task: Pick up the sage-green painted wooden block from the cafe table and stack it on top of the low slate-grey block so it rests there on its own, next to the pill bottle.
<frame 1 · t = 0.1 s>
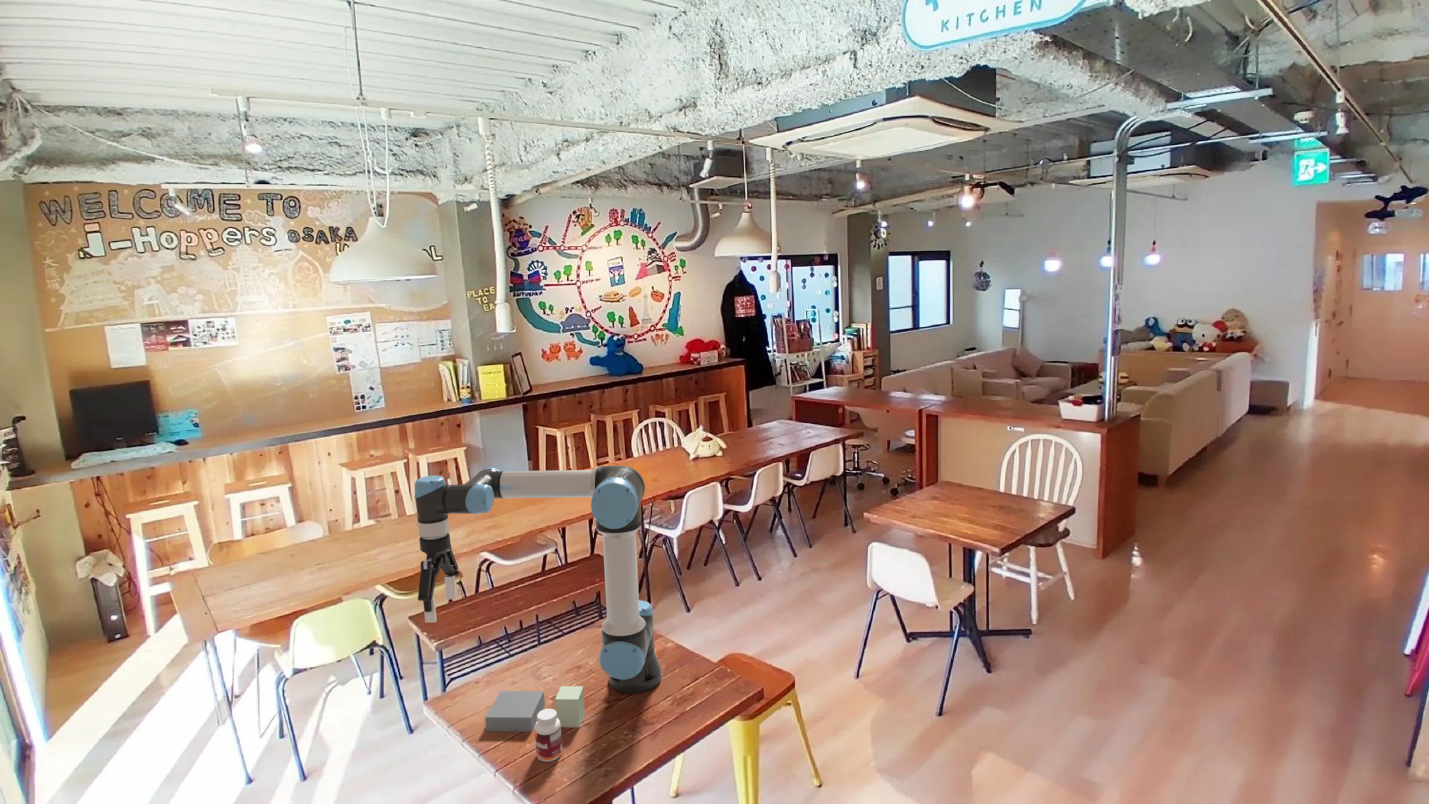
hand: (441, 609, 198), 28 cm above the table, fingers open, 13 cm apart
sage block: (571, 720, 195), on the table
pill bottle: (549, 755, 181), on the table
slate block: (516, 717, 196), on the table
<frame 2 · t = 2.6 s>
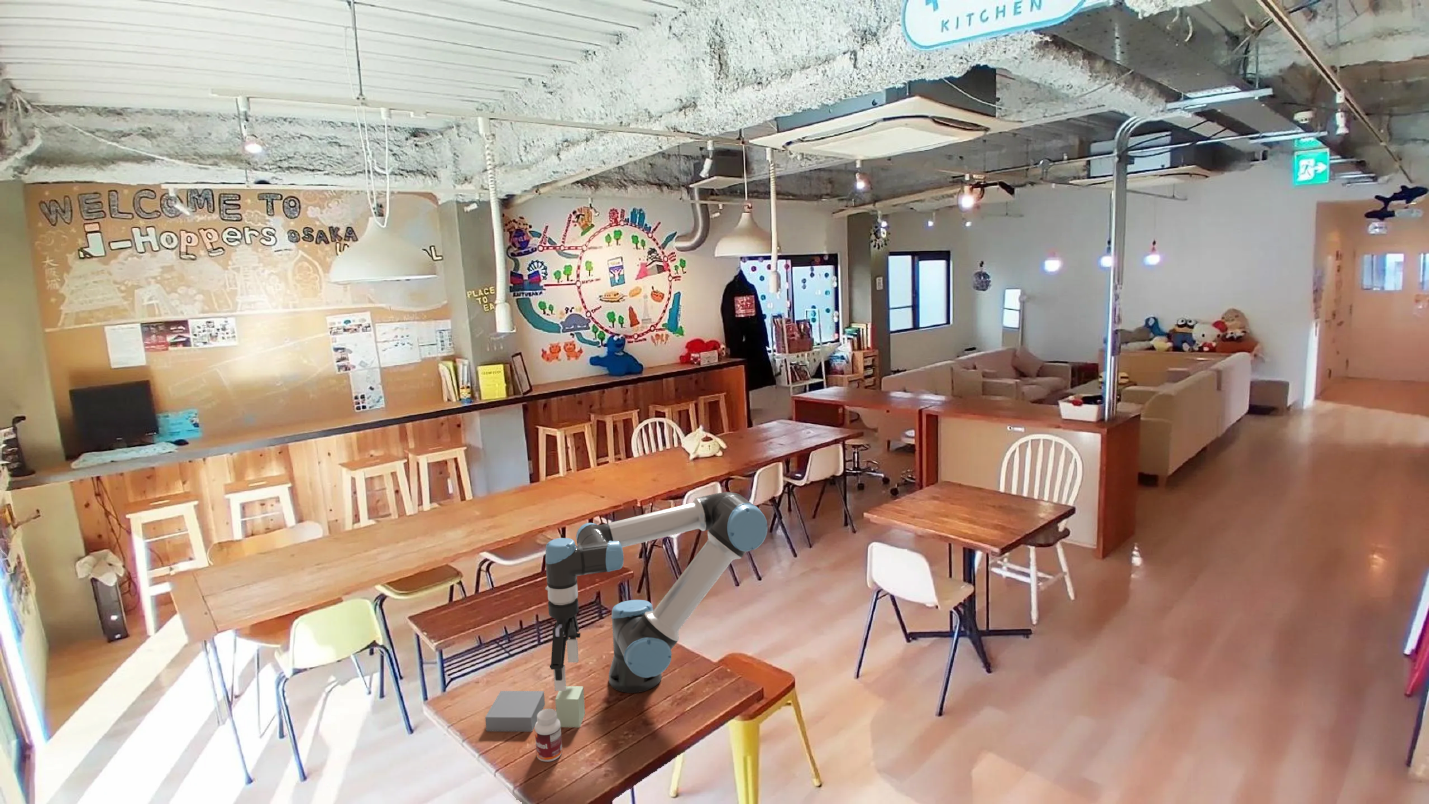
hand: (567, 675, 192), 13 cm above the table, fingers open, 13 cm apart
nothing on the table moved.
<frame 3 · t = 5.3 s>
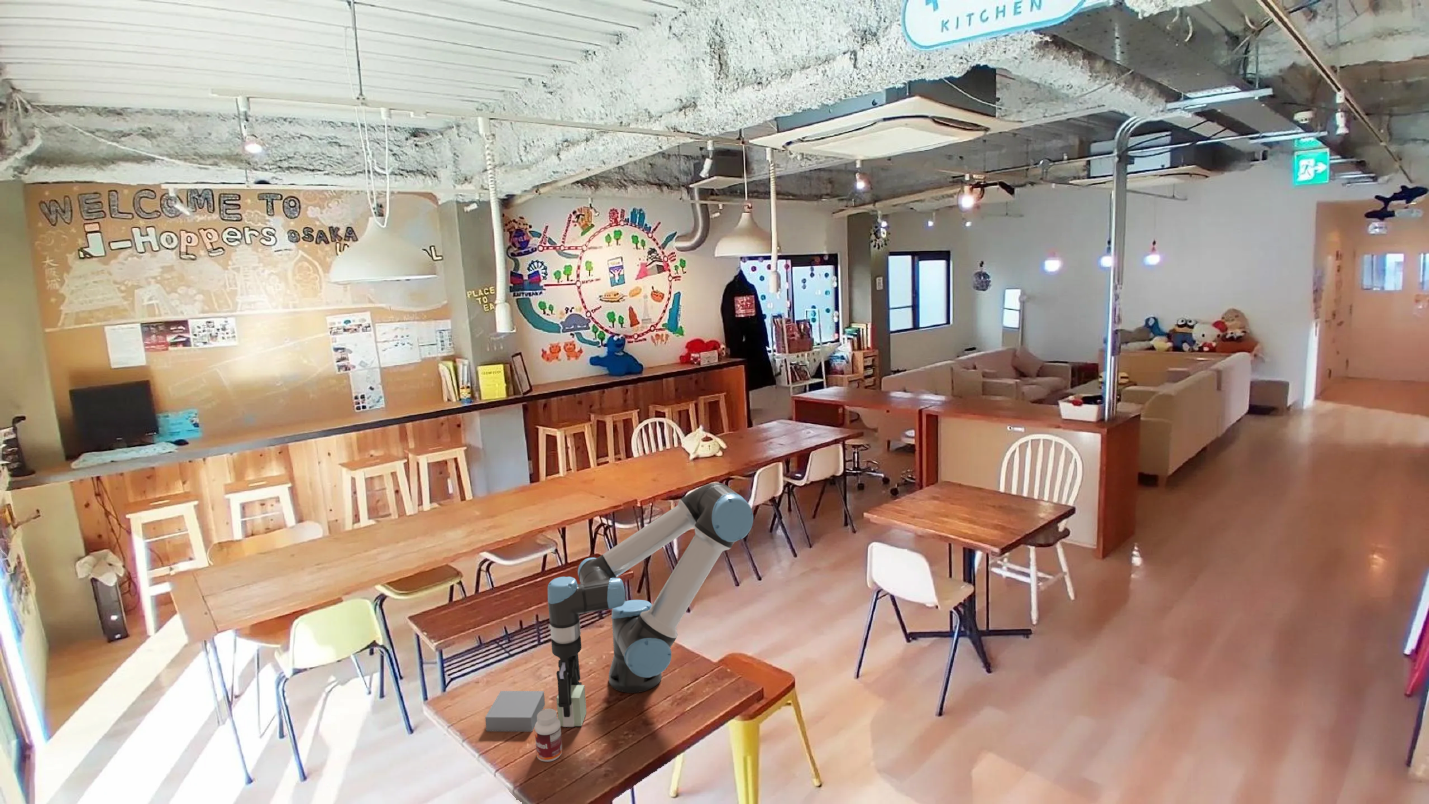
hand: (572, 717, 195), 1 cm above the table, fingers closed on sage block, 6 cm apart
sage block: (572, 719, 195), on the table, touching gripper
everything else where it was.
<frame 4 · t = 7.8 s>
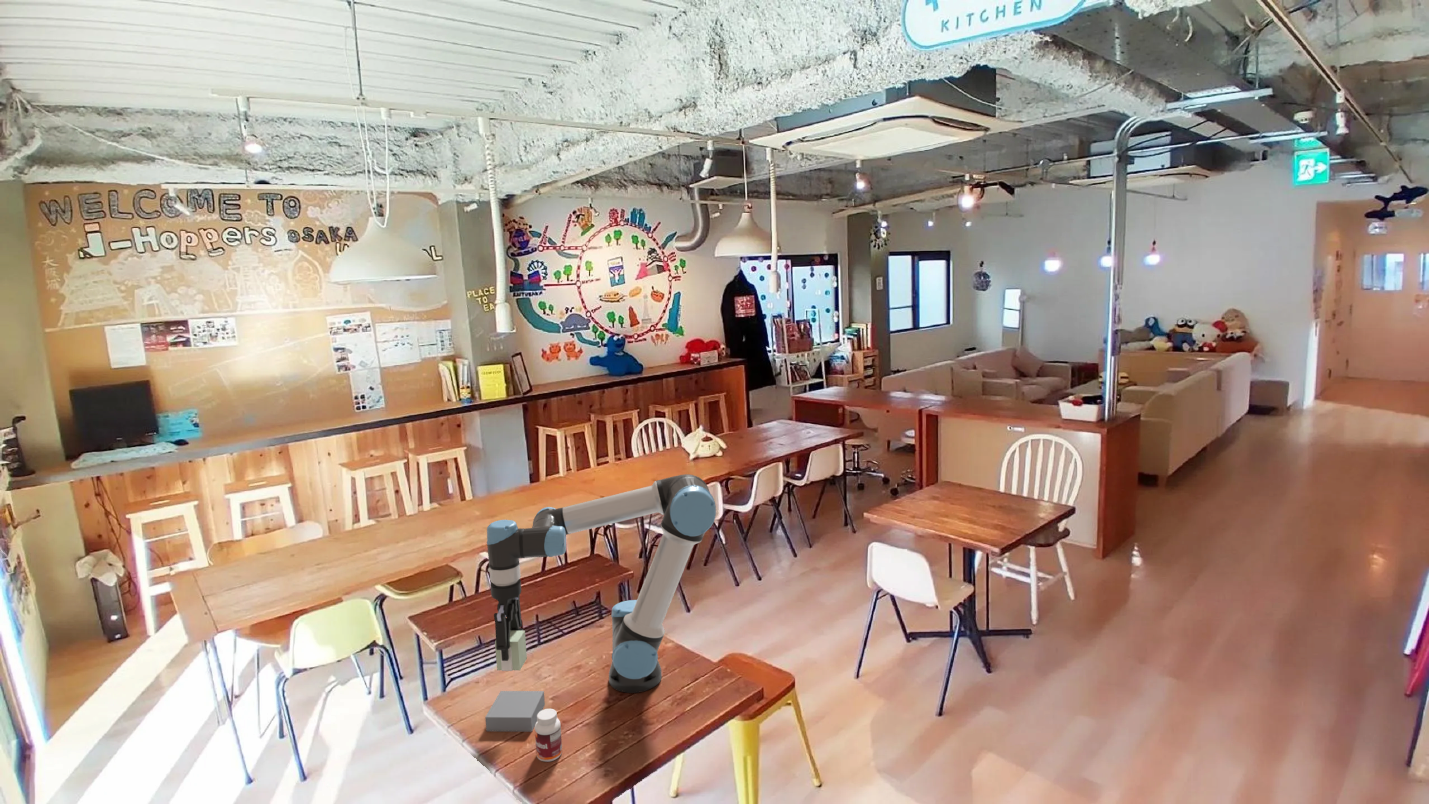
hand: (511, 663, 194), 16 cm above the table, fingers closed on sage block, 6 cm apart
sage block: (512, 664, 194), point 15 cm above the table, touching gripper
everything else where it was.
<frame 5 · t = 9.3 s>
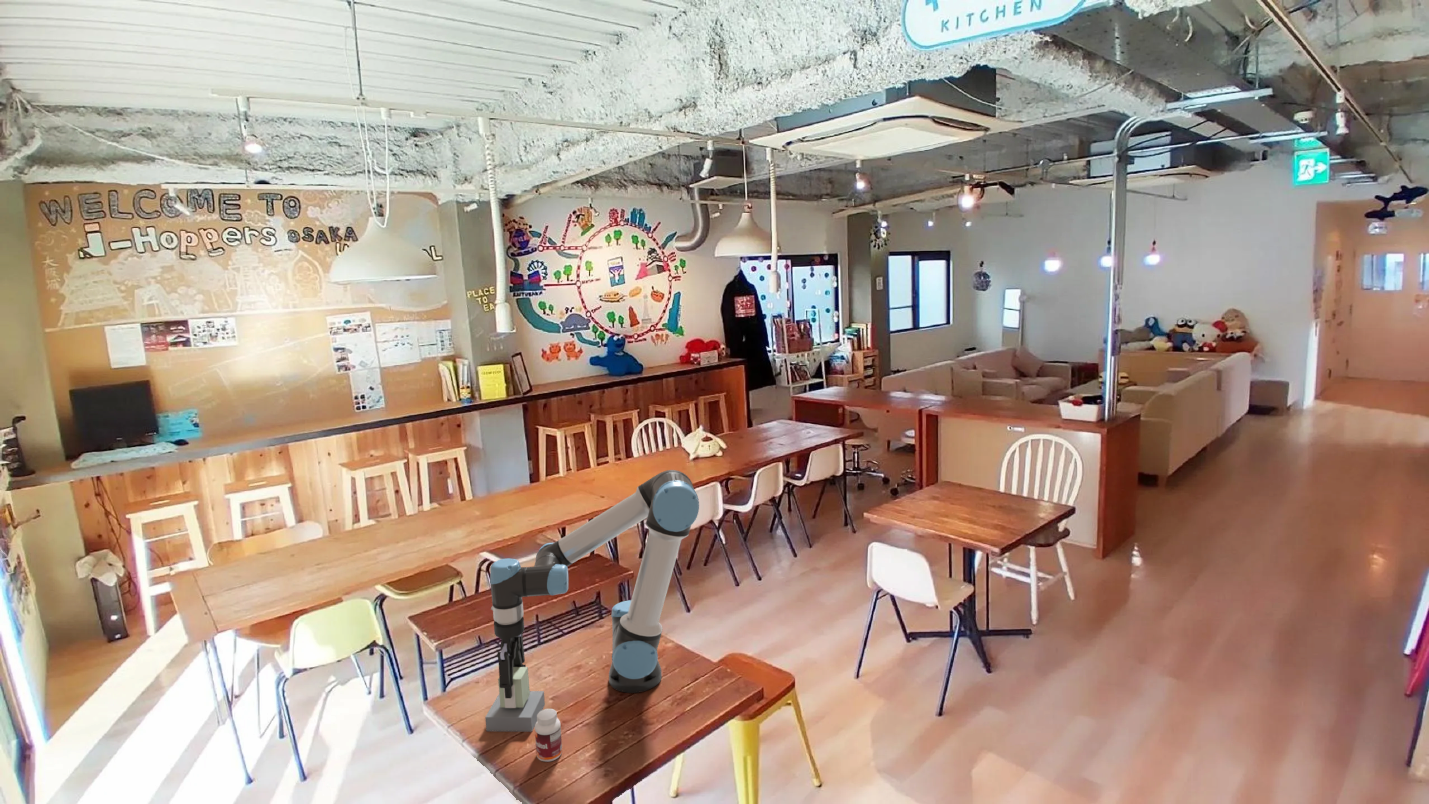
hand: (514, 699, 195), 5 cm above the table, fingers closed on sage block, 6 cm apart
sage block: (515, 700, 195), point 5 cm above the table, touching gripper
everything else where it was.
when the fingers open (5 cm above the table, at t = 10.4 s): sage block stays where it is, resting on slate block.
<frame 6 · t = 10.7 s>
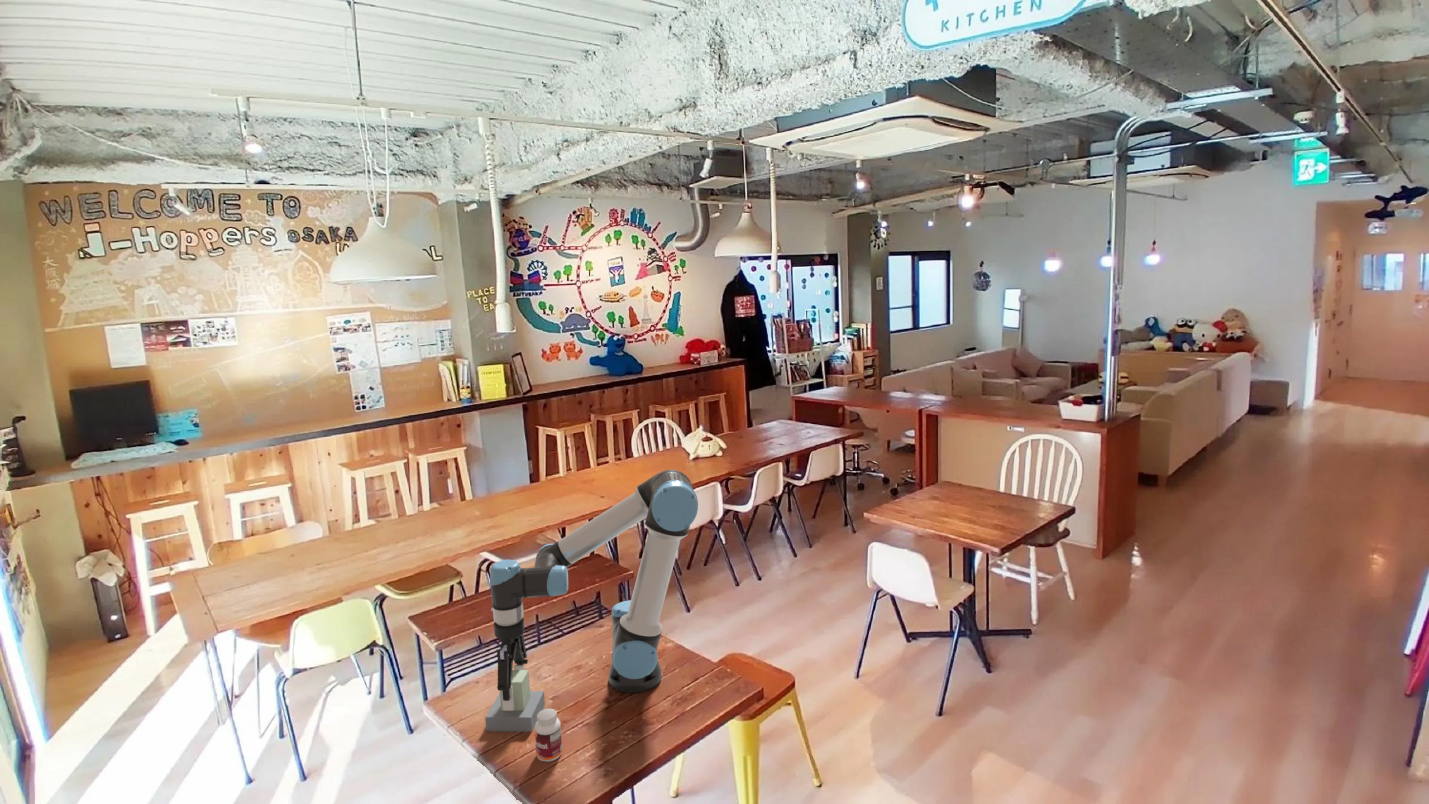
hand: (514, 698, 195), 6 cm above the table, fingers open, 9 cm apart
sage block: (516, 703, 196), point 4 cm above the table, touching slate block
everything else where it was.
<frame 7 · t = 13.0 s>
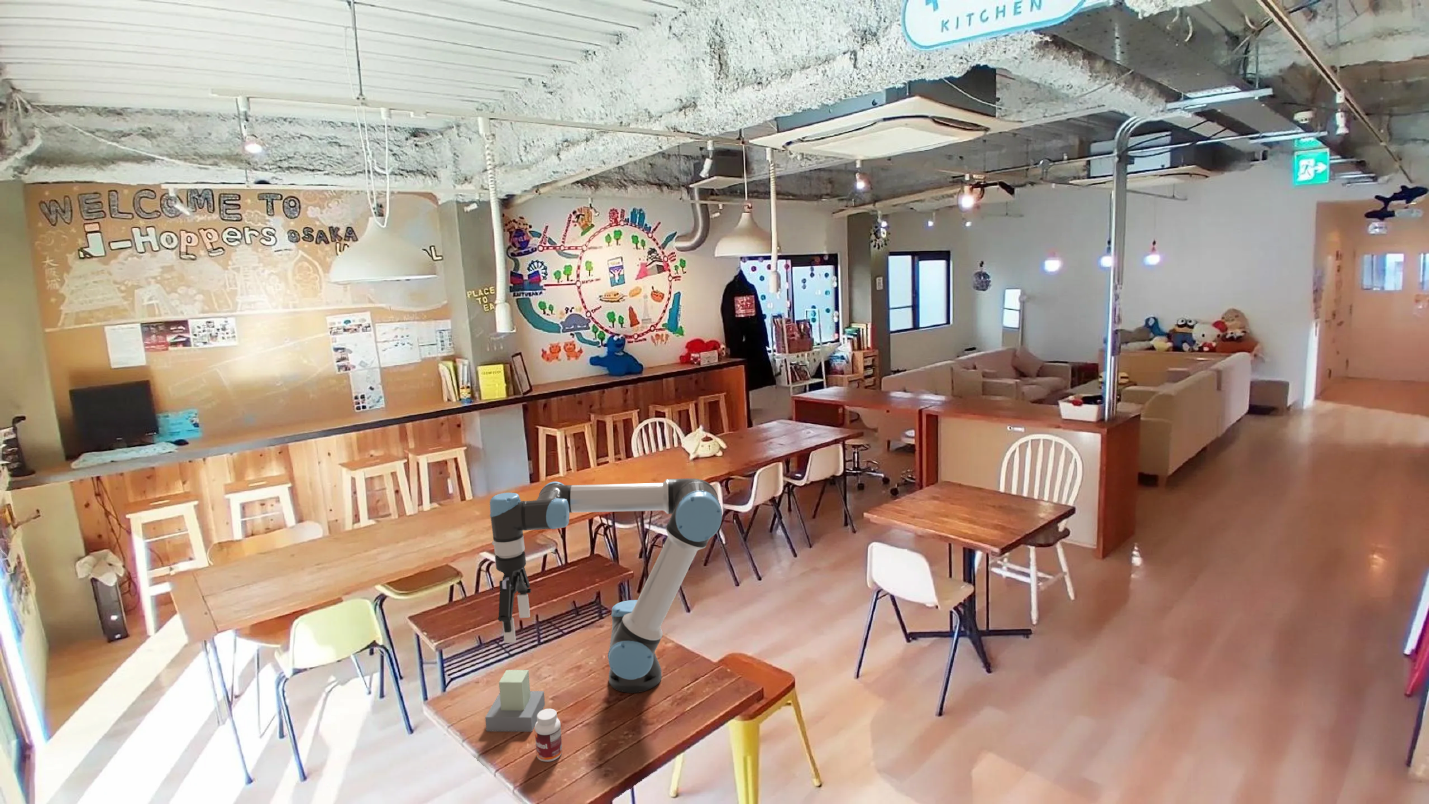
hand: (517, 629, 194), 24 cm above the table, fingers open, 13 cm apart
nothing on the table moved.
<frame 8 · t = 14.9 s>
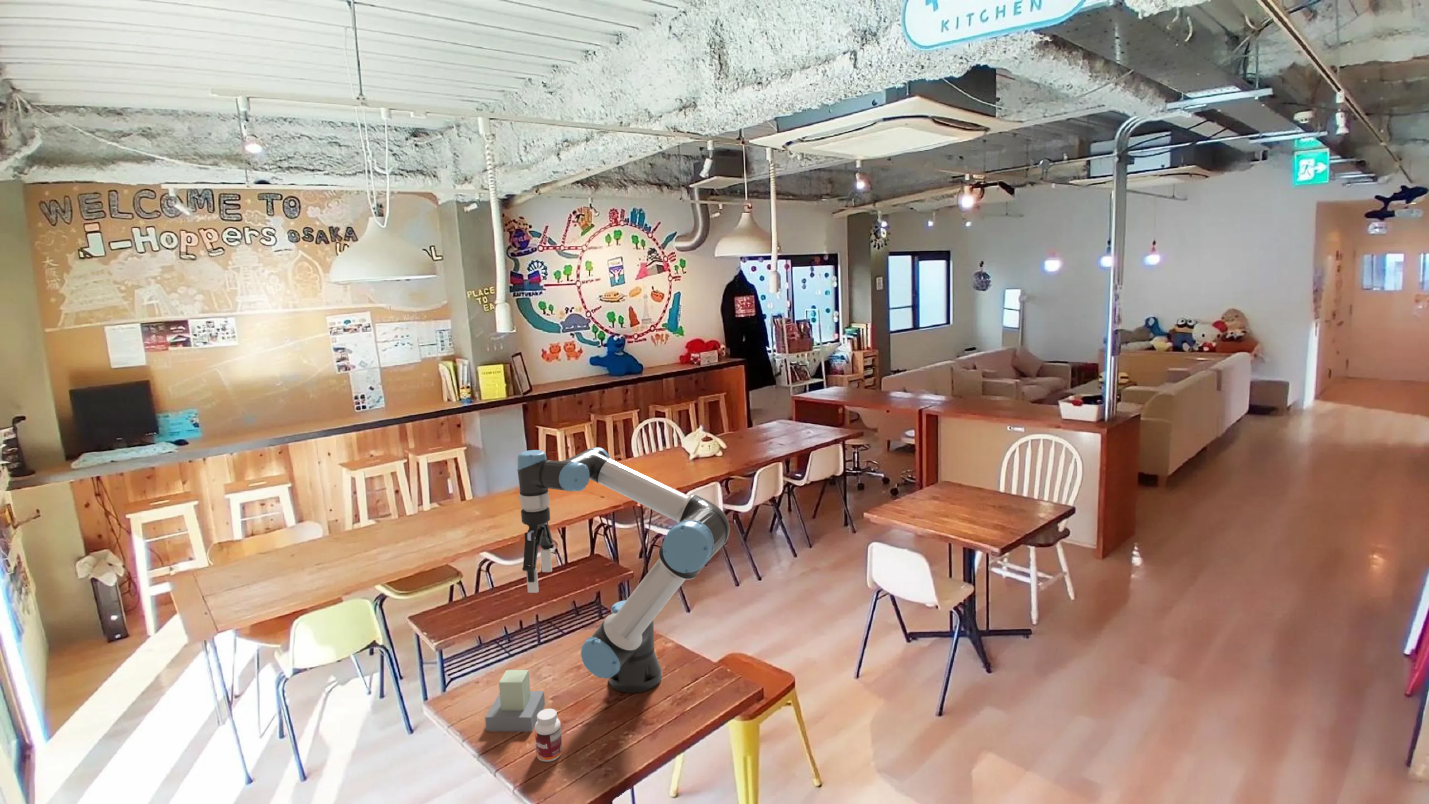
hand: (540, 581, 203), 33 cm above the table, fingers open, 13 cm apart
nothing on the table moved.
at the end: sage block inside the target area on the slate block (0.2 cm from its centre), point 4.0 cm above the slate block's base; sage block tilted 0°; the gripper is holding nothing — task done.
